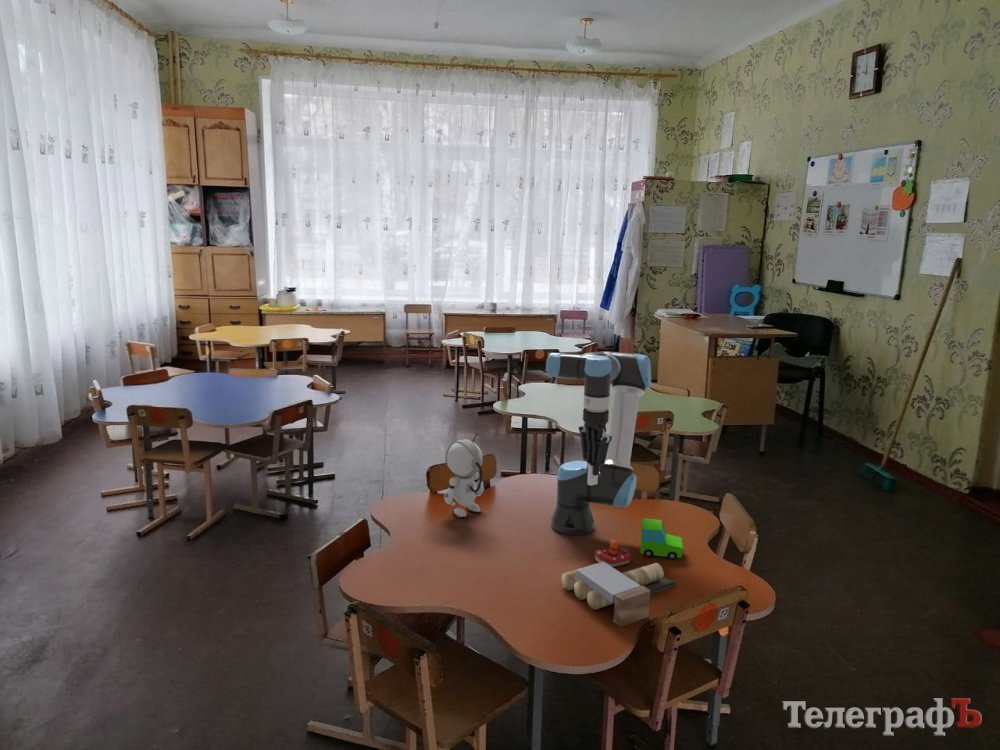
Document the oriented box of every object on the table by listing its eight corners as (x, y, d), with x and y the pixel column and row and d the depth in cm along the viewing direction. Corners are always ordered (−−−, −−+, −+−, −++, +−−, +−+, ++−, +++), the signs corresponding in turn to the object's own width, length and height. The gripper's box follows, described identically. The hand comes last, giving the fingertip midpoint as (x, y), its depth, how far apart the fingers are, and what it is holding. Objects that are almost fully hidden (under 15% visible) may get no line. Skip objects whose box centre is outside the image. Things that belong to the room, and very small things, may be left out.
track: (561, 585, 210) (562, 561, 208) (637, 561, 226) (638, 538, 224) (617, 628, 189) (619, 601, 187) (697, 598, 204) (699, 573, 203)
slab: (576, 577, 205) (576, 569, 204) (603, 569, 210) (603, 561, 209) (612, 603, 192) (613, 595, 191) (640, 593, 197) (640, 585, 196)
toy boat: (590, 560, 226) (591, 538, 224) (620, 554, 231) (621, 532, 229) (603, 571, 220) (604, 549, 218) (634, 564, 225) (635, 542, 223)
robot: (482, 506, 267) (484, 430, 262) (481, 519, 254) (482, 440, 249) (447, 505, 267) (447, 429, 262) (443, 518, 254) (443, 439, 249)
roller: (630, 593, 207) (635, 581, 205) (619, 580, 211) (625, 569, 208) (660, 583, 214) (665, 571, 211) (649, 570, 217) (655, 559, 214)
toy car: (682, 563, 226) (685, 534, 223) (640, 558, 228) (642, 530, 226) (681, 548, 235) (683, 521, 233) (640, 544, 238) (642, 517, 236)
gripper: (572, 405, 212) (569, 479, 217) (600, 416, 201) (596, 493, 206) (592, 401, 215) (588, 474, 221) (620, 412, 205) (616, 488, 210)
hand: (592, 483), depth 213 cm, fingers closed
